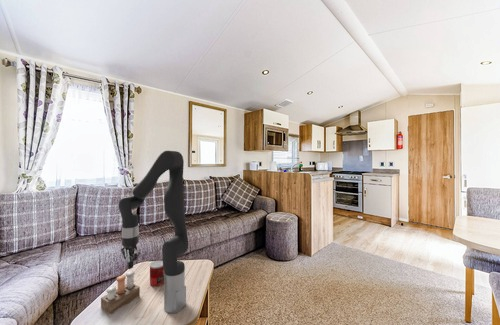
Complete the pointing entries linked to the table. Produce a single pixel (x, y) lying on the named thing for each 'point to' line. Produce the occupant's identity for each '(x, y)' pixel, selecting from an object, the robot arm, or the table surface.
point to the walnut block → (120, 299)
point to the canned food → (156, 273)
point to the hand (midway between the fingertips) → (130, 268)
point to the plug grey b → (130, 279)
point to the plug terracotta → (121, 284)
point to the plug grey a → (111, 292)
